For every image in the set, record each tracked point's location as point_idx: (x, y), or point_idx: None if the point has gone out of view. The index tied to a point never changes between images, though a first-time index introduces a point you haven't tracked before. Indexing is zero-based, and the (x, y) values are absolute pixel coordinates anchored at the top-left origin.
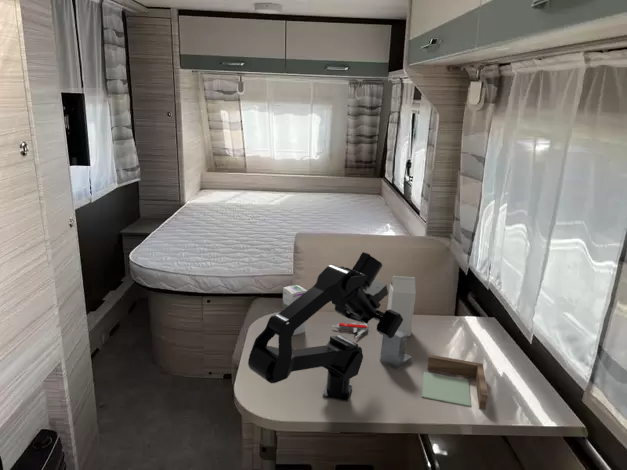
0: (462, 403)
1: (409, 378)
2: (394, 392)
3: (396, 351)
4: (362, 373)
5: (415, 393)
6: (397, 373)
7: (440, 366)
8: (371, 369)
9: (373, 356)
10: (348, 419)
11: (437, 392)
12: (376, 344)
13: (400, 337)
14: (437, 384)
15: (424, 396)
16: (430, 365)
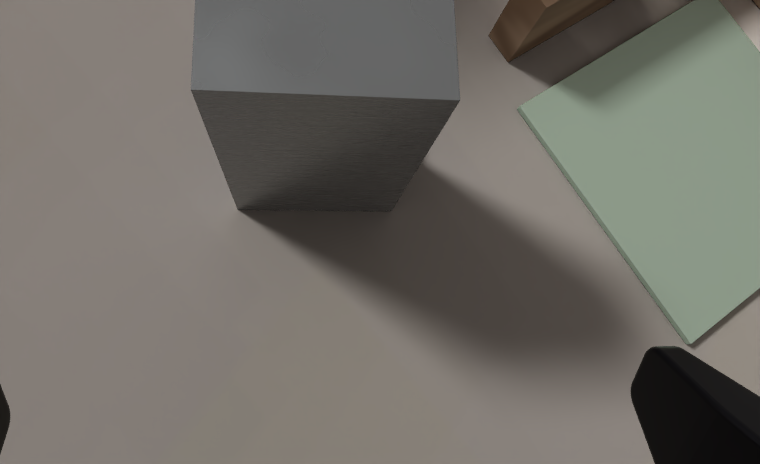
0: None
1: (509, 232)
2: (562, 451)
3: (391, 167)
4: (267, 461)
5: (638, 342)
6: (424, 246)
7: (583, 5)
8: (275, 358)
9: (165, 201)
10: None
11: (709, 233)
12: (67, 46)
13: (456, 101)
14: (654, 160)
15: (698, 332)
16: (534, 36)
